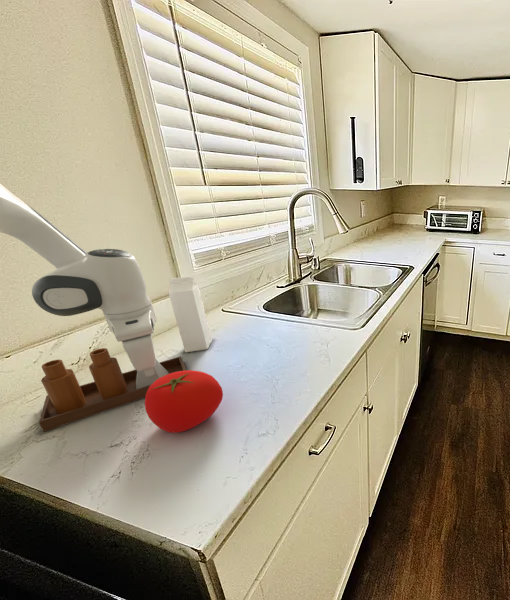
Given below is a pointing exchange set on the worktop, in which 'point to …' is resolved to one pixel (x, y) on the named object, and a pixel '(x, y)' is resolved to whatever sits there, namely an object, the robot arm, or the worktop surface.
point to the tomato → (182, 400)
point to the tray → (96, 403)
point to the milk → (189, 313)
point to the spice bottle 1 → (62, 387)
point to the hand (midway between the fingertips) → (149, 369)
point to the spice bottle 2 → (107, 374)
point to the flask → (145, 381)
